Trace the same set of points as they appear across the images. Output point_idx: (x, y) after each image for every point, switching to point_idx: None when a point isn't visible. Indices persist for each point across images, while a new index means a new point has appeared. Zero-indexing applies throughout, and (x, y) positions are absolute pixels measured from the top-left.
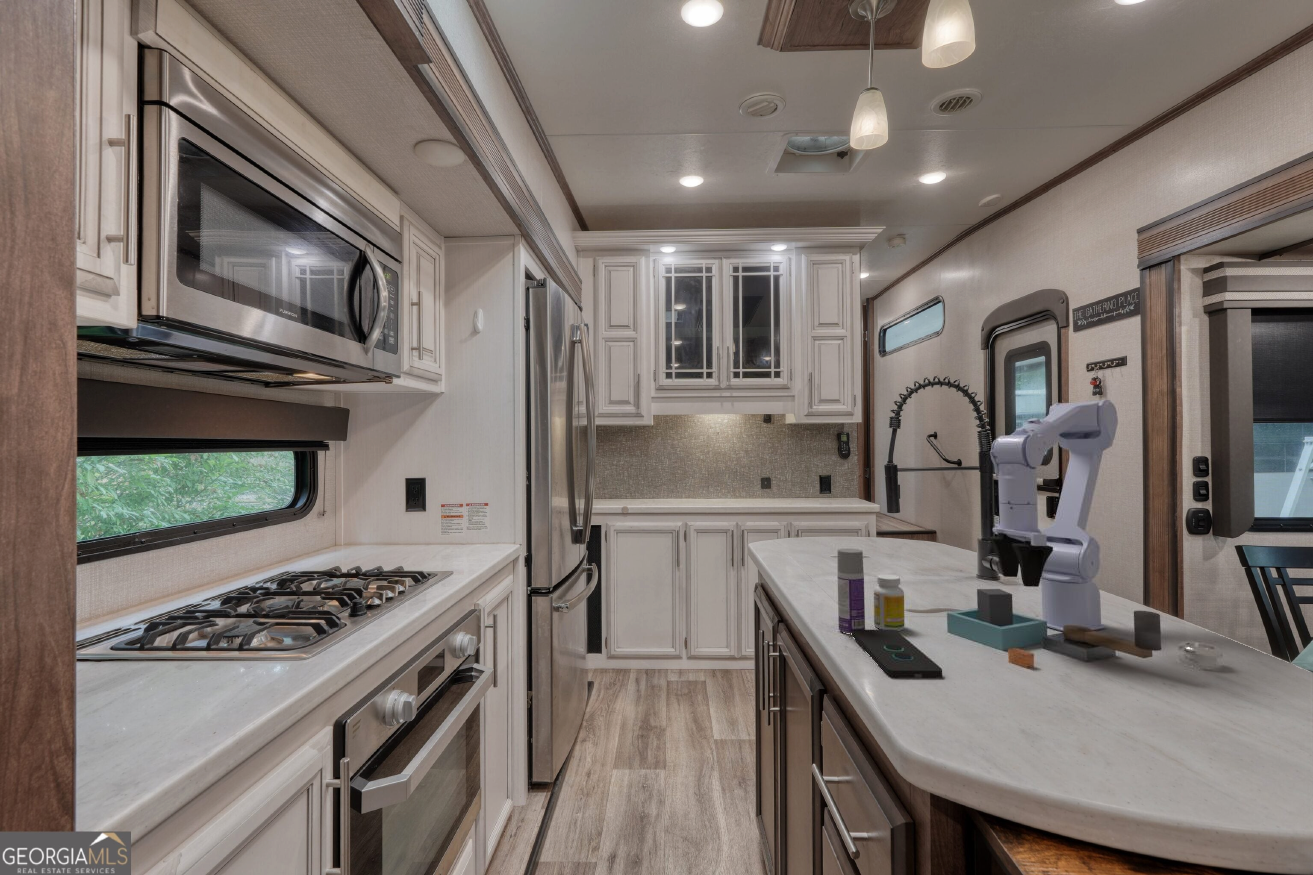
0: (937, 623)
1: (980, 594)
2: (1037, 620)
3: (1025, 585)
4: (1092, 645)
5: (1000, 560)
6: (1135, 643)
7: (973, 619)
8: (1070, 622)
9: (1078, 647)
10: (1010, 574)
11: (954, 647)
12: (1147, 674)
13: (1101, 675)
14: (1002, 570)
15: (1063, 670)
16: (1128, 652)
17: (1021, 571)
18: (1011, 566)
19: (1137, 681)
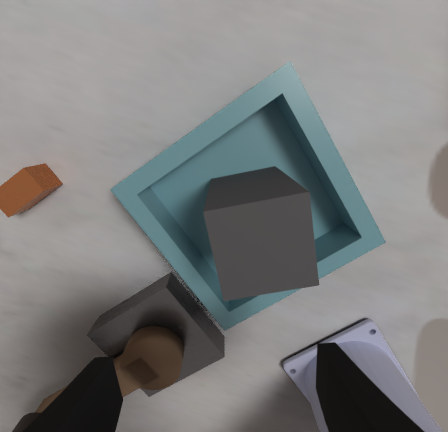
0: (368, 66)
1: (275, 193)
2: (228, 312)
3: (93, 360)
4: (120, 354)
5: (369, 416)
6: (35, 418)
7: (208, 135)
8: (309, 382)
9: (100, 325)
10: (320, 375)
11: (125, 52)
12: (62, 376)
13: (26, 309)
14: (337, 362)
15: (29, 256)
16: (62, 390)
17: (54, 419)
18: (340, 425)
19: (16, 348)
